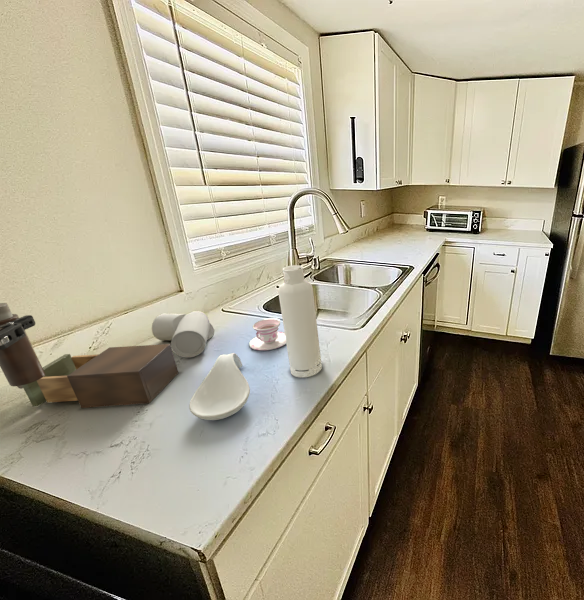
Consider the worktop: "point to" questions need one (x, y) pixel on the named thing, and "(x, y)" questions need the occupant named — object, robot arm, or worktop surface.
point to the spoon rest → (221, 390)
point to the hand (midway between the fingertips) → (16, 320)
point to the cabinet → (124, 376)
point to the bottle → (299, 322)
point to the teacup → (267, 335)
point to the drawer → (55, 380)
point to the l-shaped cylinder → (184, 332)
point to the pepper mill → (18, 356)
